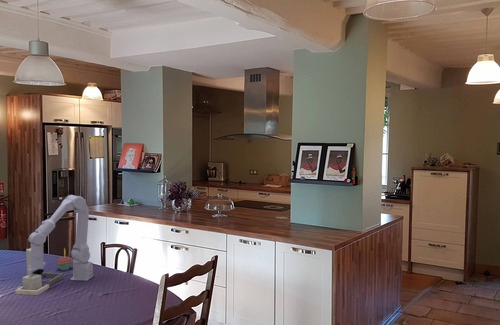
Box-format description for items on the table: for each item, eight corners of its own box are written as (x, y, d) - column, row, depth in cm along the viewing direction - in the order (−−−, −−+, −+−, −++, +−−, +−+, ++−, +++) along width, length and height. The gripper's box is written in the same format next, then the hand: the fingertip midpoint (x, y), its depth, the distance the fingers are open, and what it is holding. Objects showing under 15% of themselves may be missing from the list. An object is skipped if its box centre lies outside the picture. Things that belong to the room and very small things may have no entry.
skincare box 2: (33, 287, 218) (32, 273, 217) (42, 289, 215) (41, 274, 215) (22, 292, 212) (21, 277, 211) (32, 294, 210) (31, 278, 209)
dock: (63, 277, 235) (63, 273, 235) (48, 287, 220) (48, 282, 220) (43, 277, 236) (43, 272, 235) (27, 286, 221) (27, 281, 220)
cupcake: (56, 268, 253) (56, 247, 252) (72, 266, 256) (72, 245, 256) (56, 272, 245) (56, 250, 244) (73, 270, 249) (73, 249, 248)
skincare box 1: (43, 277, 235) (43, 249, 235) (31, 279, 231) (31, 251, 231) (37, 273, 241) (37, 246, 241) (25, 275, 237) (25, 248, 237)
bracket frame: (49, 288, 218) (48, 284, 218) (37, 295, 208) (37, 291, 208) (27, 287, 219) (27, 283, 219) (15, 294, 209) (15, 290, 209)
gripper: (36, 253, 225) (36, 279, 225) (20, 260, 210) (20, 289, 211) (50, 253, 225) (50, 280, 225) (35, 261, 210) (35, 289, 211)
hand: (36, 284), depth 218 cm, fingers closed, pressing on skincare box 2
